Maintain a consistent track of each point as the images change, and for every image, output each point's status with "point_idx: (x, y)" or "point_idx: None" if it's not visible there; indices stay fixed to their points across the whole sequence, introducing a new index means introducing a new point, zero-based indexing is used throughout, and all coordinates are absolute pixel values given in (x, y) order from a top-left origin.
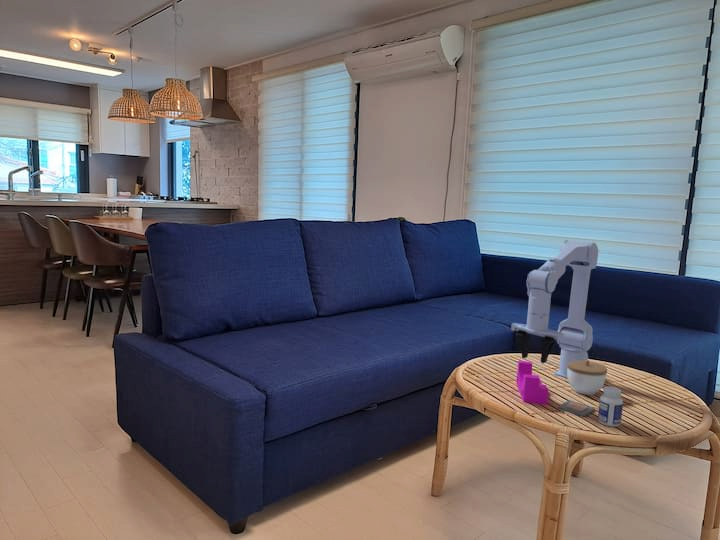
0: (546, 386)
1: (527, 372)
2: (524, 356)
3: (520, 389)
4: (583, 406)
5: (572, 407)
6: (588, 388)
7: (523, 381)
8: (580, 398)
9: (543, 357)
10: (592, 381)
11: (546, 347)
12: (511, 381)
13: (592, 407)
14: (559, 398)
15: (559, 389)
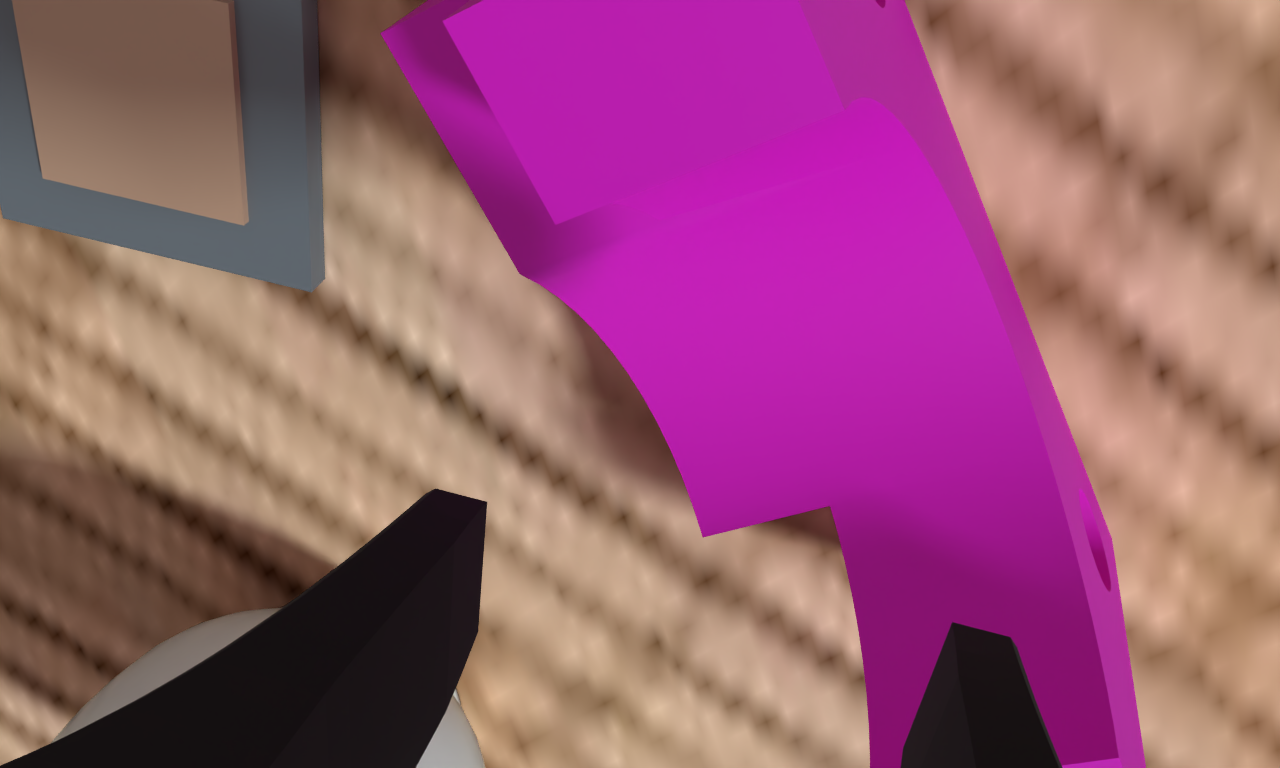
0: (480, 205)
1: (933, 622)
2: (948, 666)
3: (965, 193)
4: (80, 153)
5: (141, 15)
6: (208, 623)
7: (861, 53)
8: (289, 471)
9: (351, 568)
10: (115, 688)
11: (39, 766)
12: (1198, 593)
13: (23, 211)
14: (457, 335)
15: (567, 616)
